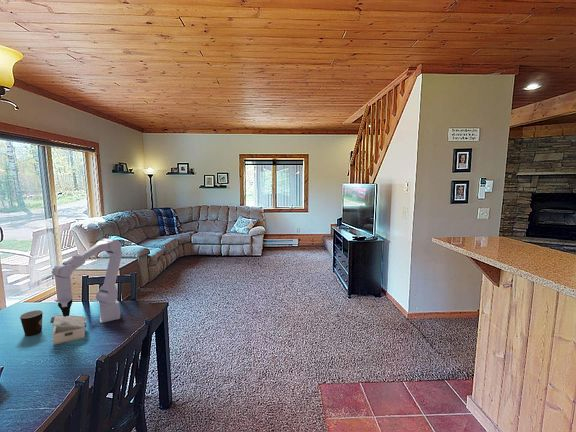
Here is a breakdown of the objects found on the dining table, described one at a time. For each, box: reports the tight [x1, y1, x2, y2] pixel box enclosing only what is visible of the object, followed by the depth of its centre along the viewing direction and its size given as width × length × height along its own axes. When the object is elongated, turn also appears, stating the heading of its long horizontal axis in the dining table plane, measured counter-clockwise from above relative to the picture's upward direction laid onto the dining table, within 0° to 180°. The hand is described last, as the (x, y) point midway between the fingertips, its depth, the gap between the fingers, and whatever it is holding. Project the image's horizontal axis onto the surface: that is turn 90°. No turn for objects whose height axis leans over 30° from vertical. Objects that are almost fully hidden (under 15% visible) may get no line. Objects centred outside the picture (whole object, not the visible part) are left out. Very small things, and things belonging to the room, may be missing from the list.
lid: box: [49, 313, 85, 328], centre depth 147 cm, size 14×12×1 cm
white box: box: [52, 316, 87, 346], centre depth 148 cm, size 13×15×5 cm
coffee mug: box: [19, 309, 44, 337], centre depth 151 cm, size 12×9×10 cm
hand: (66, 315), depth 146 cm, fingers closed
